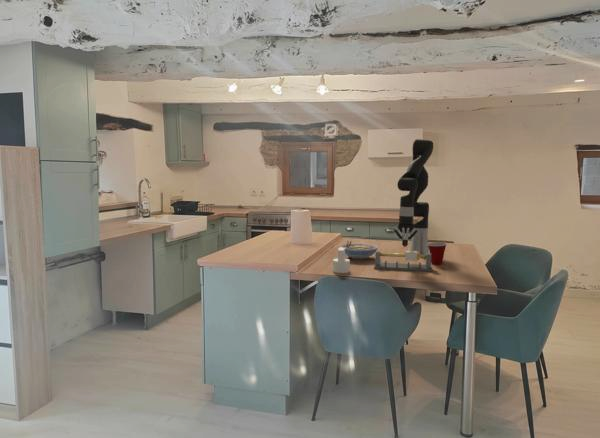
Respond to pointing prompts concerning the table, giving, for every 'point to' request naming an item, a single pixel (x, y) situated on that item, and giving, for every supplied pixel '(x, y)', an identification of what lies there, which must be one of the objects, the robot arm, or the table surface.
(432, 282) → the table surface
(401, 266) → the cable comb fixture
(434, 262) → the plastic cup
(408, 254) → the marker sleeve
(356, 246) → the ramen bowl
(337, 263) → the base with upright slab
